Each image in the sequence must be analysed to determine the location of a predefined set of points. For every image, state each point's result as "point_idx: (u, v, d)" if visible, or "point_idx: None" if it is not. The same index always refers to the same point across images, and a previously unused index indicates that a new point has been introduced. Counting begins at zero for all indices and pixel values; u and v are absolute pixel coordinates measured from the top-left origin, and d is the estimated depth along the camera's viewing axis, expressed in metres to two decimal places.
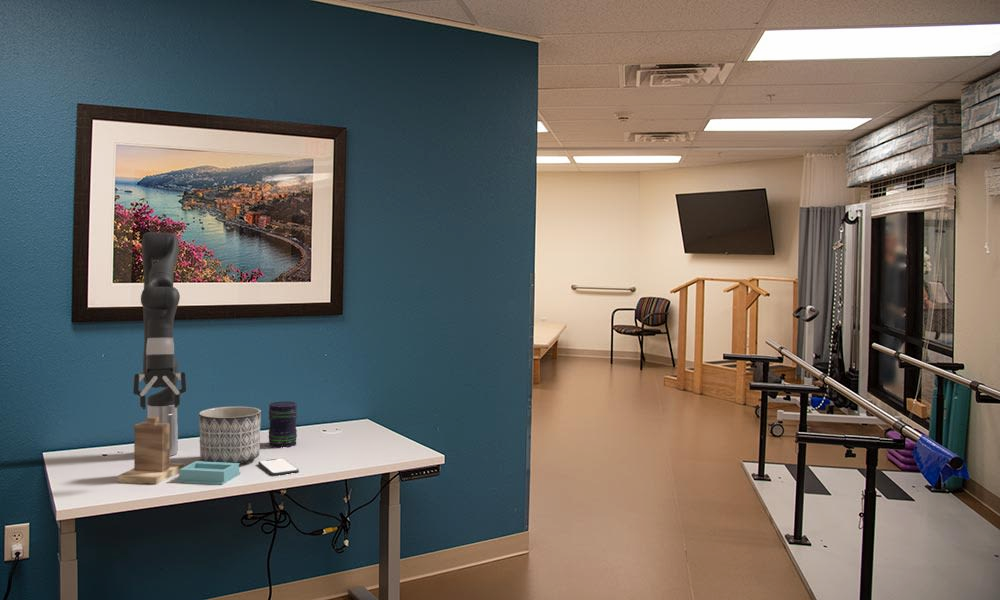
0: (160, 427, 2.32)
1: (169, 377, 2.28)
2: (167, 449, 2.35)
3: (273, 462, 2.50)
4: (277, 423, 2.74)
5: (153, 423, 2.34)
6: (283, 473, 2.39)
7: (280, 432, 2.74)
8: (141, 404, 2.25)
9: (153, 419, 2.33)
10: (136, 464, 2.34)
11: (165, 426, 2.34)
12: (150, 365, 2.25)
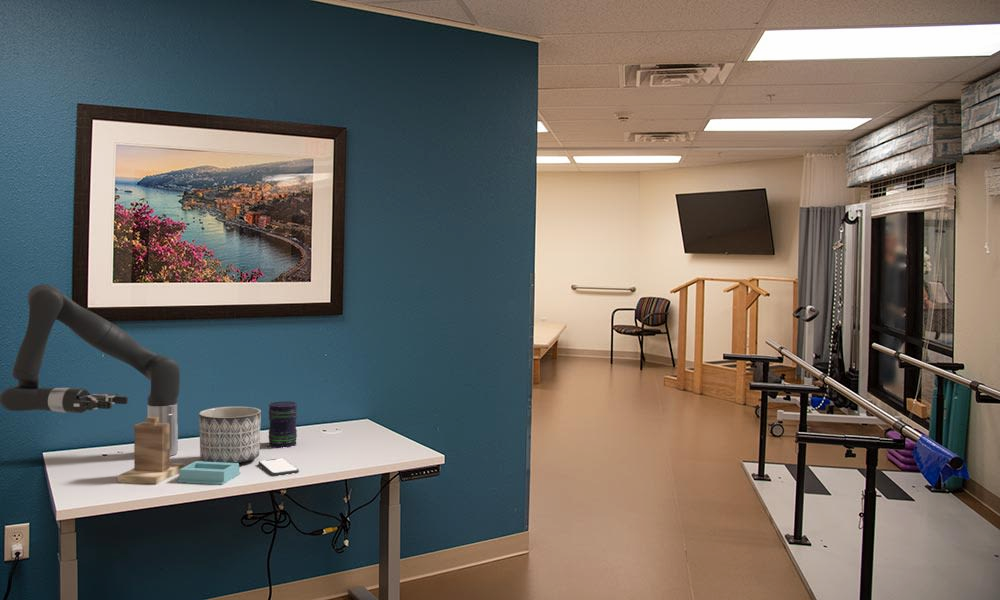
0: (160, 427, 2.32)
1: (86, 406, 2.34)
2: (167, 449, 2.35)
3: (273, 462, 2.50)
4: (277, 423, 2.74)
5: (153, 423, 2.34)
6: (283, 473, 2.39)
7: (280, 432, 2.74)
8: None
9: (153, 419, 2.33)
10: (136, 464, 2.34)
11: (165, 426, 2.34)
12: None
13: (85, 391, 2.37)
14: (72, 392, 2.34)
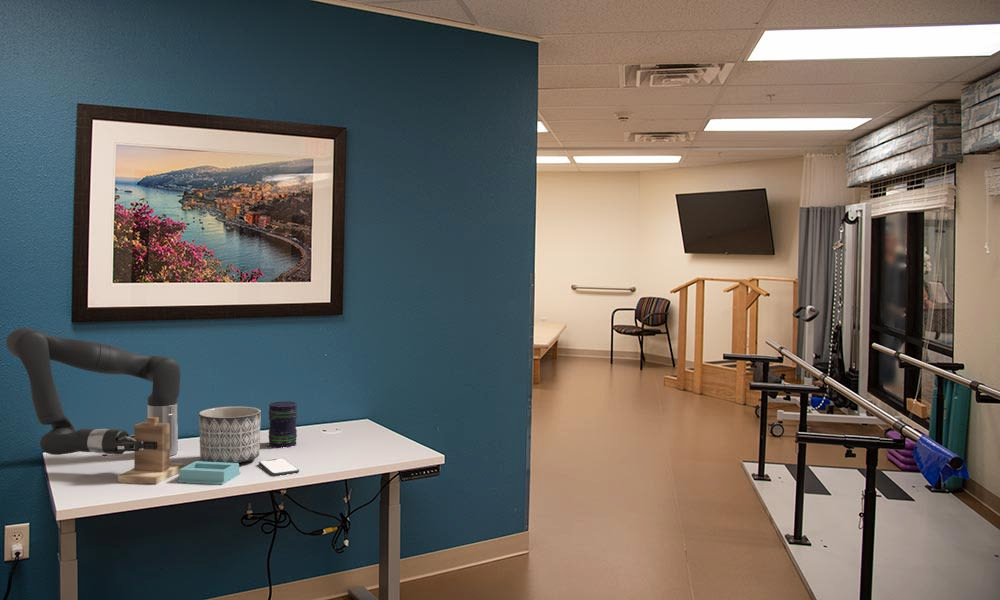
0: (160, 427, 2.32)
1: None
2: (167, 449, 2.35)
3: (273, 462, 2.50)
4: (277, 423, 2.74)
5: (153, 423, 2.34)
6: (283, 473, 2.39)
7: (280, 432, 2.74)
8: None
9: (153, 419, 2.33)
10: (136, 464, 2.34)
11: (165, 426, 2.34)
12: None
13: (124, 432, 2.37)
14: (111, 434, 2.34)
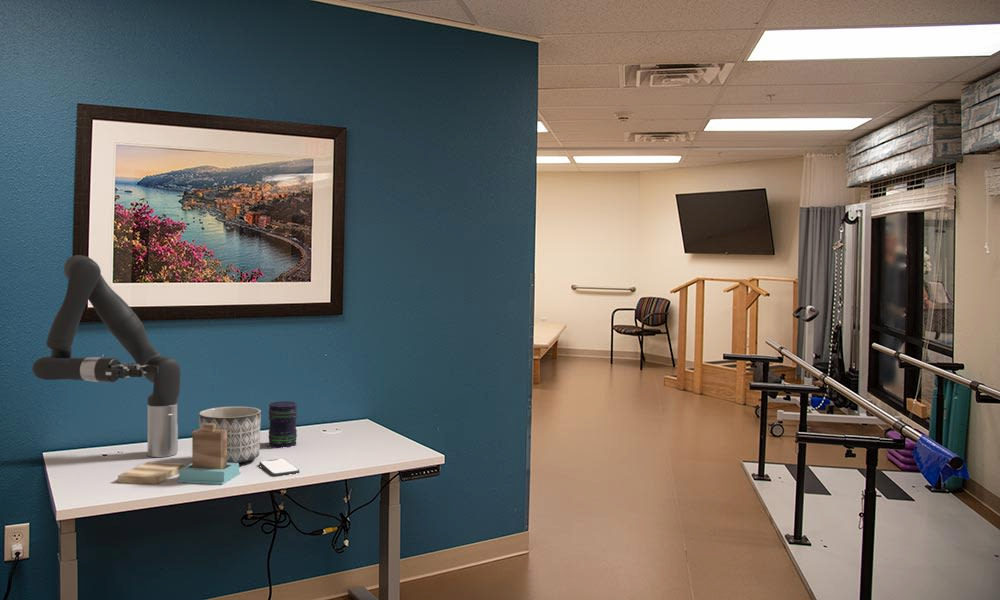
0: (218, 434, 2.31)
1: (117, 375, 2.33)
2: (225, 456, 2.34)
3: (274, 462, 2.49)
4: (277, 423, 2.74)
5: (211, 430, 2.33)
6: (284, 474, 2.39)
7: (280, 432, 2.74)
8: None
9: (211, 425, 2.33)
10: None
11: (223, 432, 2.33)
12: None
13: (116, 360, 2.37)
14: (104, 361, 2.34)
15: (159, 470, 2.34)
